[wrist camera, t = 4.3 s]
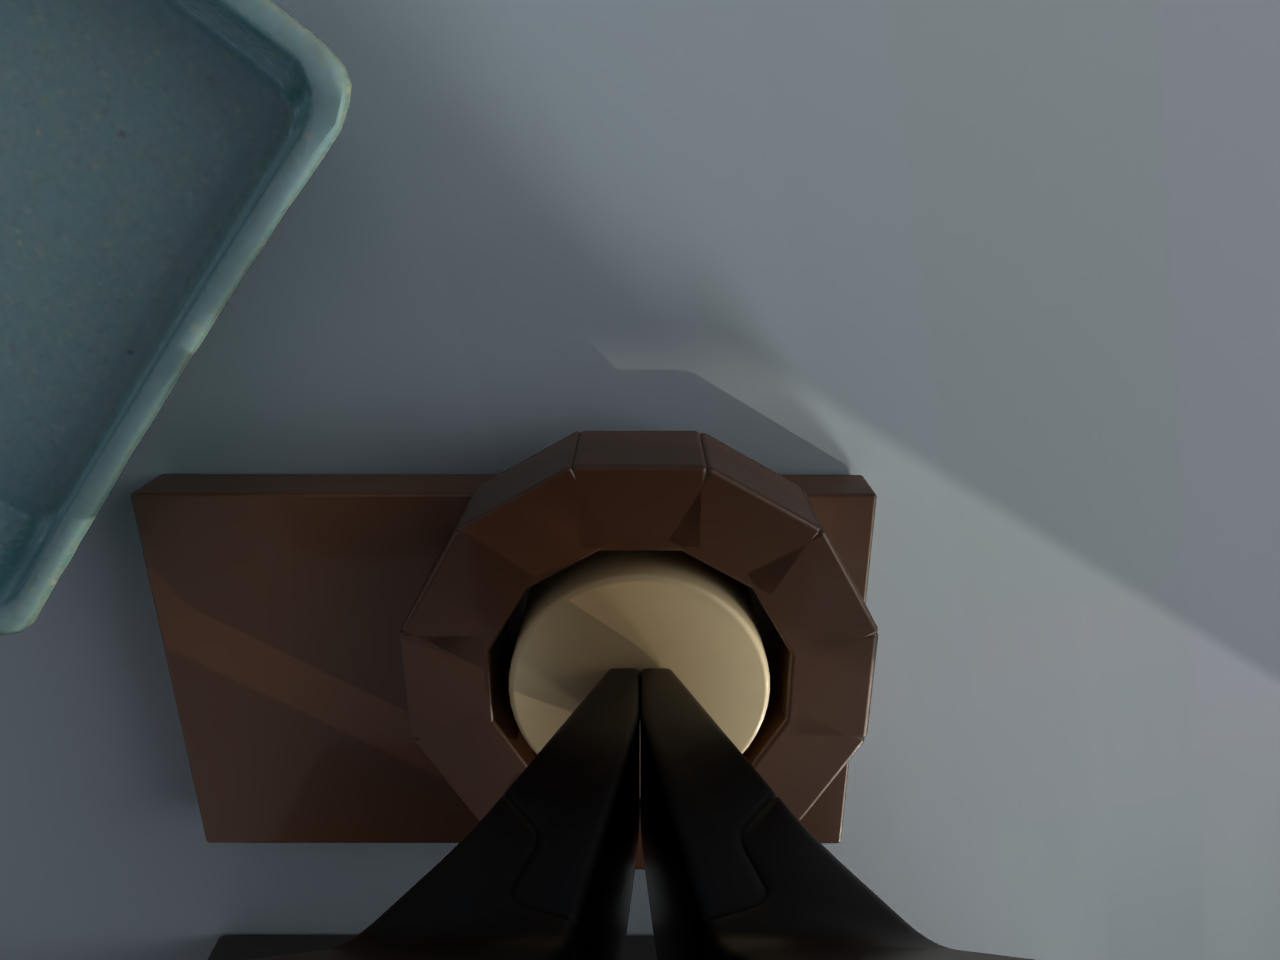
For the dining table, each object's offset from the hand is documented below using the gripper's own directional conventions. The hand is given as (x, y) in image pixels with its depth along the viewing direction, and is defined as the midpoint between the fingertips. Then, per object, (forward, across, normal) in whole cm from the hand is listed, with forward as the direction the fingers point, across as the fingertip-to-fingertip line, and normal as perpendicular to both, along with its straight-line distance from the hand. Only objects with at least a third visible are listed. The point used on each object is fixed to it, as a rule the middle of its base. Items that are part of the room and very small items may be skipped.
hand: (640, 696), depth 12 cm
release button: (+2, 0, 0) cm, 2 cm away
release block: (+3, +2, +1) cm, 3 cm away
